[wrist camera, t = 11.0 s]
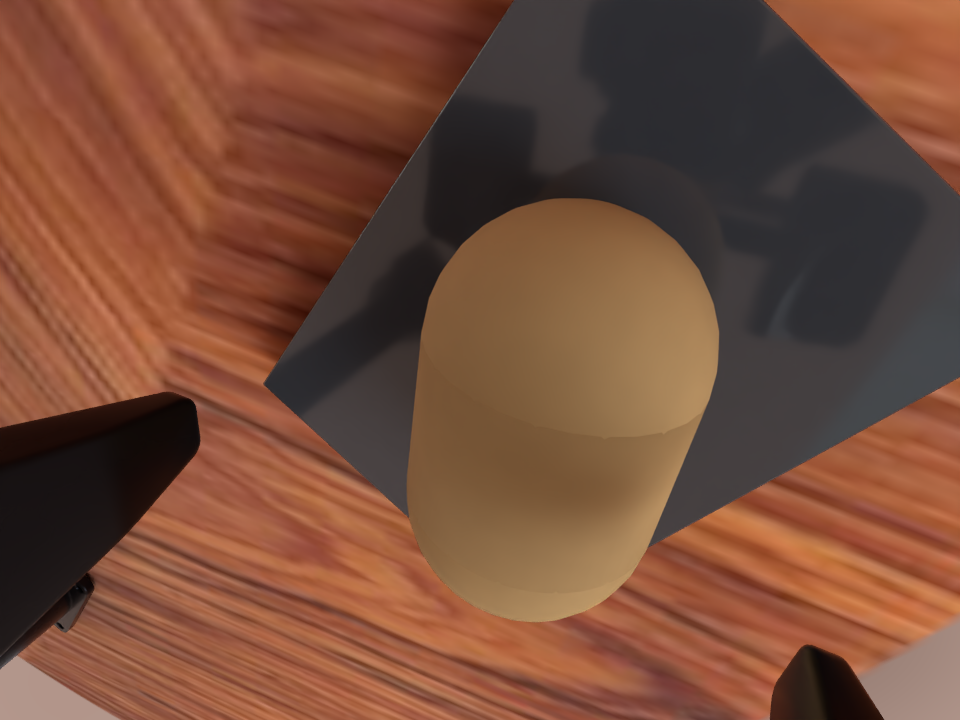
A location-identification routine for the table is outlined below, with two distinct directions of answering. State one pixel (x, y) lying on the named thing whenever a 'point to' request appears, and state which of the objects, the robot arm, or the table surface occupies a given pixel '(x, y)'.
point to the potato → (555, 404)
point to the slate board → (681, 214)
